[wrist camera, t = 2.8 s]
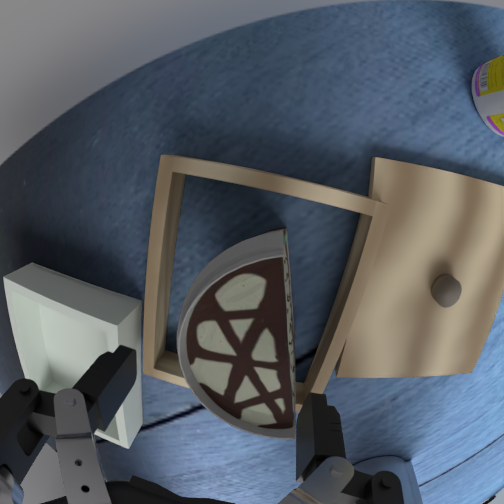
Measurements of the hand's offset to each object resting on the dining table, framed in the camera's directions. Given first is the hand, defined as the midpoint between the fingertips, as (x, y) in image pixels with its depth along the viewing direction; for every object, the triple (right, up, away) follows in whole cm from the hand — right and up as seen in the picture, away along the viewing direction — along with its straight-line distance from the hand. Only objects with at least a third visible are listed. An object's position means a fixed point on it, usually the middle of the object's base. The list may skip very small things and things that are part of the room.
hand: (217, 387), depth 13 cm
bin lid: (+17, +3, +9) cm, 19 cm away
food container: (+2, +3, +11) cm, 12 cm away
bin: (-16, -5, +15) cm, 23 cm away
